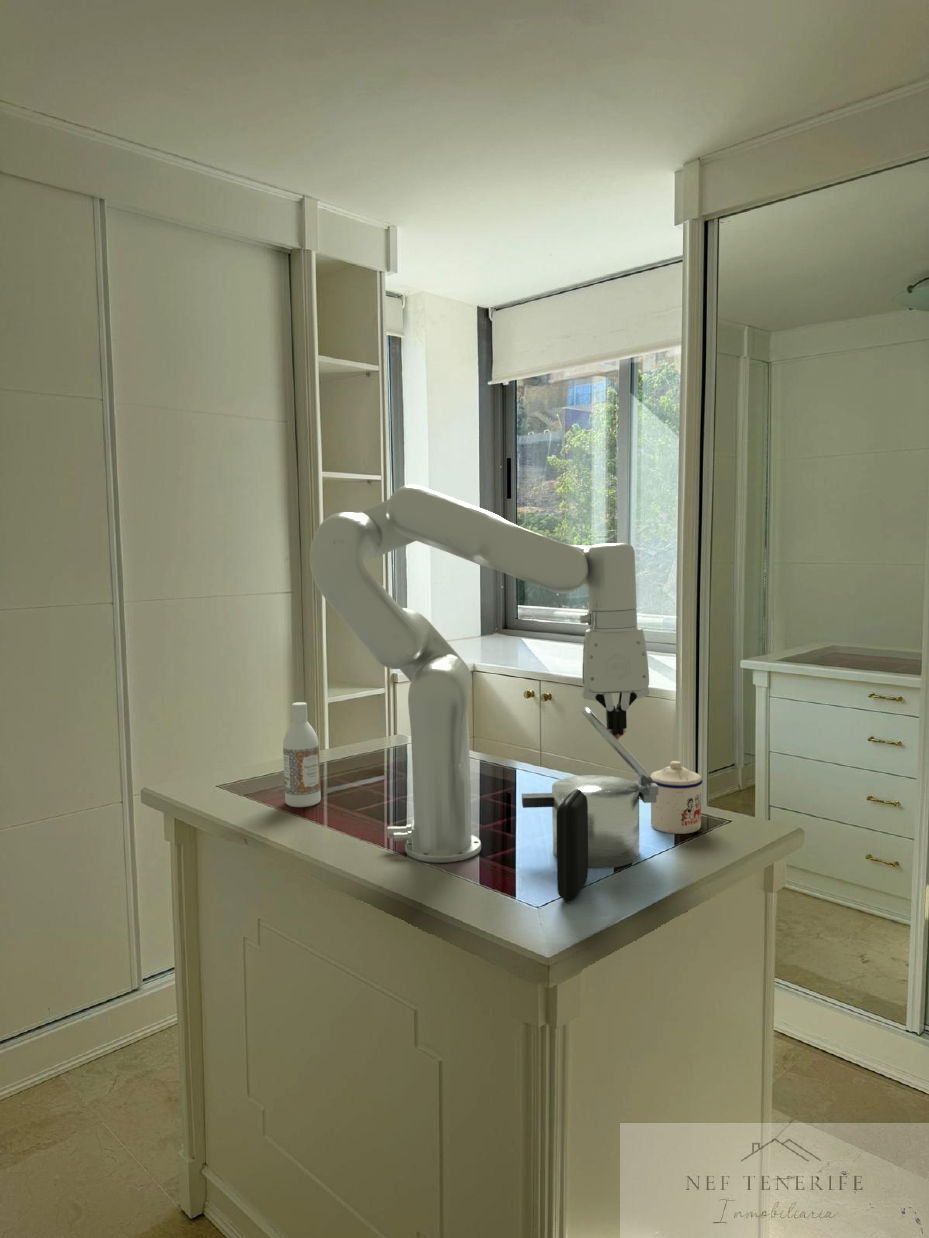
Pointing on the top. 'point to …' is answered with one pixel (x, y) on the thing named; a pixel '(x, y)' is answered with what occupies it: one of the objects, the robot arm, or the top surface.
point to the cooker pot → (602, 814)
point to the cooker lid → (617, 745)
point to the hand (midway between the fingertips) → (616, 733)
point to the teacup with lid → (677, 800)
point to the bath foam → (301, 760)
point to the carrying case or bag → (572, 845)
